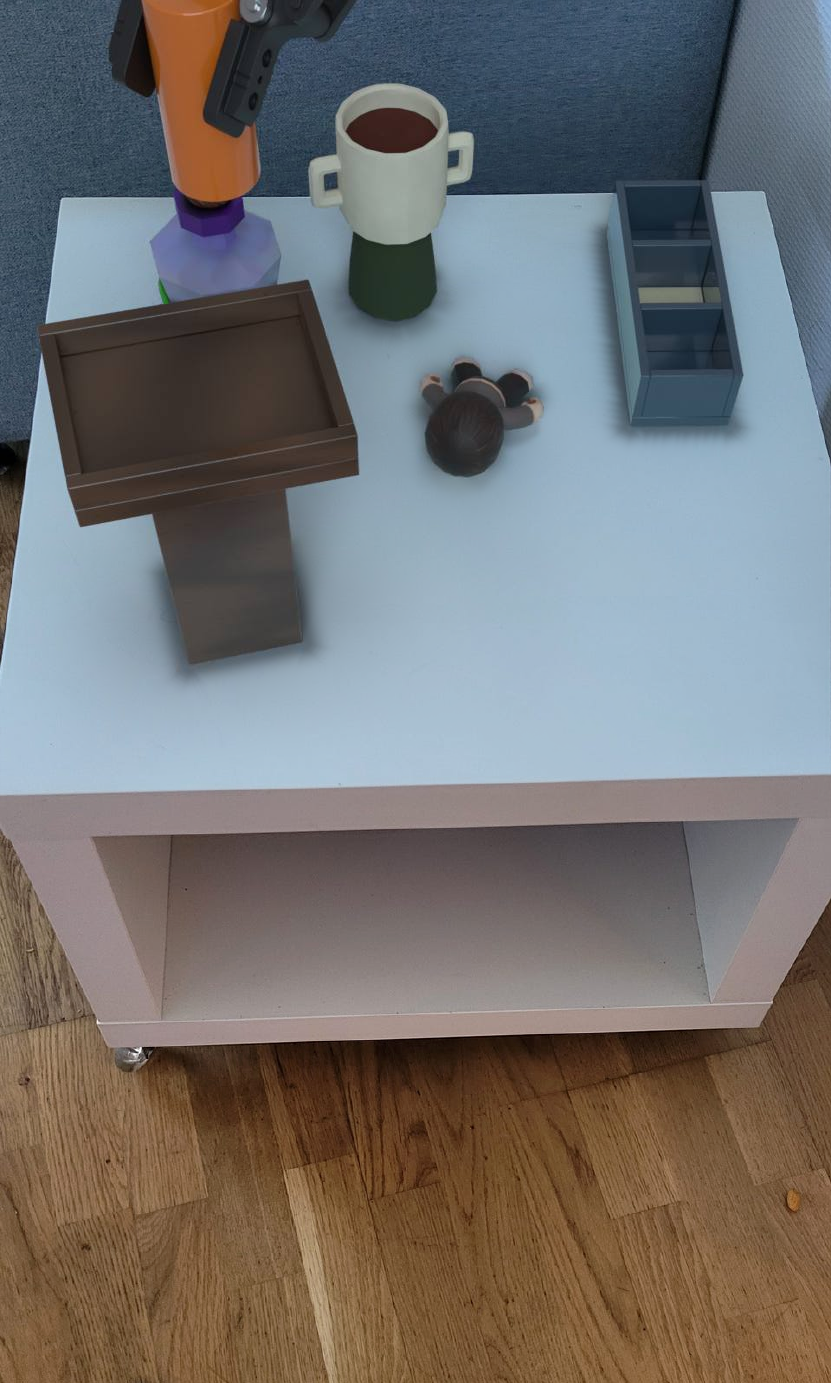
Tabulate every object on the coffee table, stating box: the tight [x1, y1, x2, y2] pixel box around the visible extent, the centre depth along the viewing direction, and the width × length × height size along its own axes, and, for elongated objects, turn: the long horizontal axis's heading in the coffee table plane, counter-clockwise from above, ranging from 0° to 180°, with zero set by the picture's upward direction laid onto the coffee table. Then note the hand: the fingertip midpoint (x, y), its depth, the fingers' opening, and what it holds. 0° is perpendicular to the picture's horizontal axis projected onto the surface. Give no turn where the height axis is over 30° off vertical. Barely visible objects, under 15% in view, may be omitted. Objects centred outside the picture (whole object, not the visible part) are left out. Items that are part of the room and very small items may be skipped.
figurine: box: [419, 355, 544, 478], centre depth 85 cm, size 8×5×10 cm
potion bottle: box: [149, 187, 282, 304], centre depth 85 cm, size 9×9×12 cm
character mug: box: [307, 82, 475, 322], centre depth 86 cm, size 11×7×13 cm, turn 106°
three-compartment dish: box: [606, 179, 744, 427], centre depth 89 cm, size 7×19×4 cm, turn 1°
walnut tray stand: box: [36, 279, 360, 666], centre depth 72 cm, size 14×11×18 cm
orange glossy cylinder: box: [141, 0, 262, 202], centre depth 55 cm, size 4×4×8 cm
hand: (176, 107), depth 54 cm, fingers closed on orange glossy cylinder, 4 cm apart
